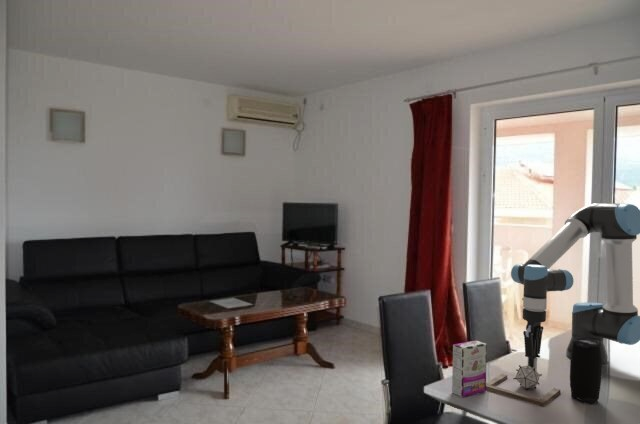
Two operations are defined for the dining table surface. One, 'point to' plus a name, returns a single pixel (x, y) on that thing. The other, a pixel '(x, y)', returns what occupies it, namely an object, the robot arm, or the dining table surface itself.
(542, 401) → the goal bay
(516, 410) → the dining table surface
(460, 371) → the candy bar box
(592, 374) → the portable speaker
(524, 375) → the game die
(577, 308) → the robot arm
